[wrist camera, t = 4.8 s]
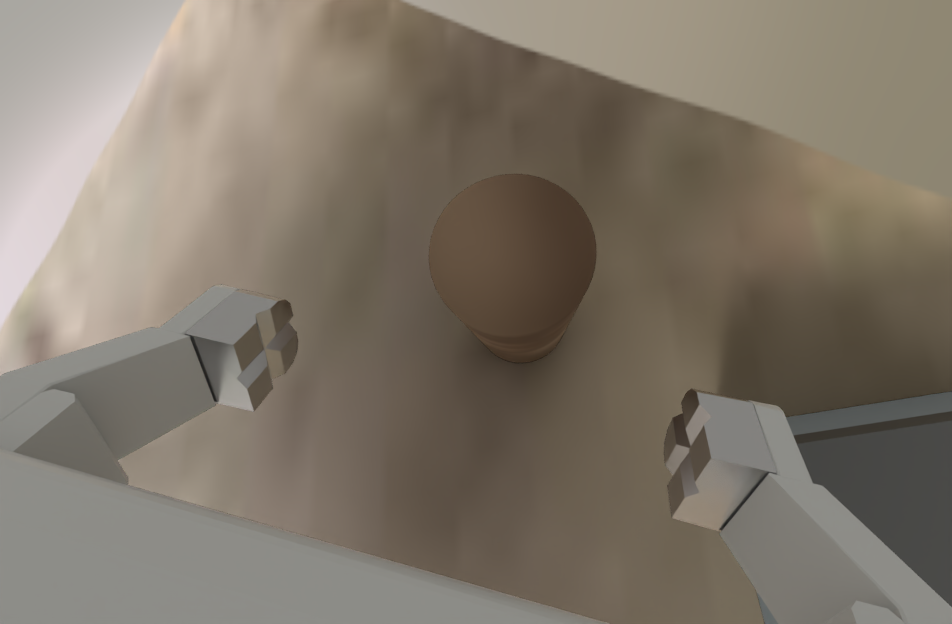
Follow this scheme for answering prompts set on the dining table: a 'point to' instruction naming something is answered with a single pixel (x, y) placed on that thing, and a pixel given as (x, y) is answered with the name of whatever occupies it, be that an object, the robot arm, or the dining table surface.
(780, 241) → the dining table surface
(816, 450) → the socket block
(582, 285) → the walnut peg
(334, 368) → the dining table surface
